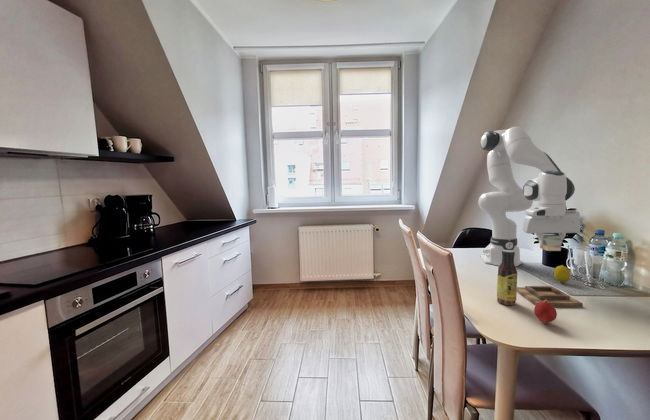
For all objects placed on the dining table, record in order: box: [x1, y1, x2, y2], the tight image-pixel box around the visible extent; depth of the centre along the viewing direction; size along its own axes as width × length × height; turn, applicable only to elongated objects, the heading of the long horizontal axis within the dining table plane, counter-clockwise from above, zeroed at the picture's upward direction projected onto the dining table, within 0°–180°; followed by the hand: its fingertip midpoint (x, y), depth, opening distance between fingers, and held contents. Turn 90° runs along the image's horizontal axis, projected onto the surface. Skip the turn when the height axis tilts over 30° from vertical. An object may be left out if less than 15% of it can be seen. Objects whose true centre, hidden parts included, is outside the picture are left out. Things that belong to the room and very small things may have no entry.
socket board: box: [517, 285, 583, 308], centre depth 110 cm, size 15×15×3 cm
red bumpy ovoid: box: [533, 300, 558, 325], centre depth 92 cm, size 6×6×8 cm
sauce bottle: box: [496, 250, 518, 306], centre depth 108 cm, size 7×6×20 cm
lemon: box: [553, 264, 571, 284], centre depth 125 cm, size 6×6×8 cm
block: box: [539, 233, 562, 252], centre depth 120 cm, size 5×5×6 cm
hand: (550, 243), depth 120 cm, fingers closed on block, 5 cm apart
